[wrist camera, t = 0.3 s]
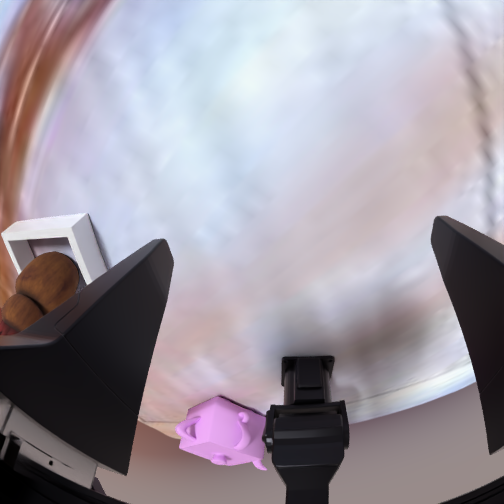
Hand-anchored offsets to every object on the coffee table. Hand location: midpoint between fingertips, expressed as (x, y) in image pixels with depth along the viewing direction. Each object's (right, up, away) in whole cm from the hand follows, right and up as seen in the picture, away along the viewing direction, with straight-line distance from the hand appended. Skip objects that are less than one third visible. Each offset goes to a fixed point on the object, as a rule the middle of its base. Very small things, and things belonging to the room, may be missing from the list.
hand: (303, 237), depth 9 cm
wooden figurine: (-24, -2, +21) cm, 32 cm away
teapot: (-5, -27, +36) cm, 45 cm away
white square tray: (-24, -2, +21) cm, 32 cm away
